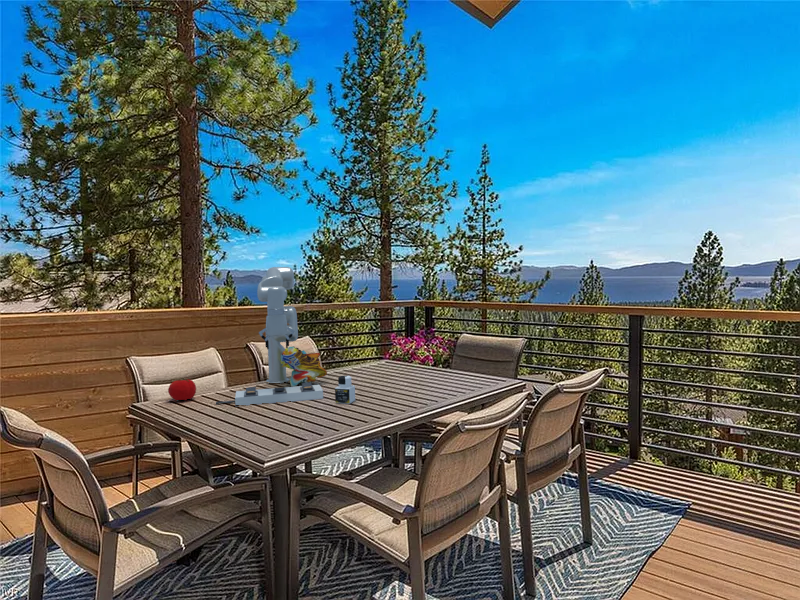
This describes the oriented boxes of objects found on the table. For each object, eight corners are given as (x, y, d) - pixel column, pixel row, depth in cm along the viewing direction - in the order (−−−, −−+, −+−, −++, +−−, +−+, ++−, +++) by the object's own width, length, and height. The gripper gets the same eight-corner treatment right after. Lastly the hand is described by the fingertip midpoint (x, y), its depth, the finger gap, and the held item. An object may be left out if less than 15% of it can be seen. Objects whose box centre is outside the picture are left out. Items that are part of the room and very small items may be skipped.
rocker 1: (246, 390, 247) (246, 387, 247) (255, 389, 248) (255, 386, 248) (246, 396, 241) (245, 393, 240) (255, 395, 242) (255, 392, 242)
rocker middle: (274, 390, 251) (274, 387, 251) (283, 389, 252) (283, 386, 252) (274, 391, 244) (274, 387, 244) (284, 390, 245) (284, 387, 245)
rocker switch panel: (216, 401, 250) (216, 391, 249) (319, 392, 263) (319, 383, 262) (214, 408, 236) (213, 398, 236) (323, 398, 249) (322, 389, 249)
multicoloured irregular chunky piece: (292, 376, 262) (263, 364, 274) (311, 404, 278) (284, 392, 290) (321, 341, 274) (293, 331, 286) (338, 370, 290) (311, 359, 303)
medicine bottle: (335, 403, 240) (334, 377, 239) (341, 399, 246) (340, 374, 246) (349, 404, 237) (348, 377, 237) (355, 400, 244) (354, 374, 244)
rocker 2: (301, 385, 254) (301, 383, 254) (311, 385, 255) (310, 382, 255) (303, 391, 248) (303, 388, 247) (312, 390, 249) (312, 387, 248)
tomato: (190, 403, 247) (189, 380, 247) (164, 403, 247) (163, 381, 247) (201, 396, 261) (200, 375, 260) (176, 397, 261) (175, 376, 260)
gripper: (293, 311, 259) (295, 346, 260) (257, 313, 254) (258, 348, 255) (294, 312, 252) (296, 348, 253) (257, 314, 247) (259, 350, 248)
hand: (277, 348), depth 254 cm, fingers open, 8 cm apart
